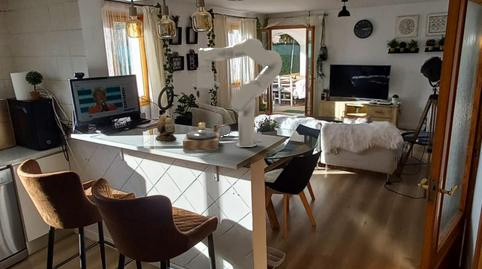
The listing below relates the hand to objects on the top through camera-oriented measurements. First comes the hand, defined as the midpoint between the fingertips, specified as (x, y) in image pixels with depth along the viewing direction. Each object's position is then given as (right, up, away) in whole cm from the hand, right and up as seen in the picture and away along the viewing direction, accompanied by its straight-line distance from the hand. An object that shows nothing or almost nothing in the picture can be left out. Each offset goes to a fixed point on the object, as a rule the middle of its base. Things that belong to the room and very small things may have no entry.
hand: (206, 97), depth 216 cm
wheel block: (-2, -30, -6) cm, 31 cm away
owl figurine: (-28, -27, +14) cm, 41 cm away
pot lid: (-2, -24, -7) cm, 25 cm away
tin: (+9, -25, +18) cm, 32 cm away
